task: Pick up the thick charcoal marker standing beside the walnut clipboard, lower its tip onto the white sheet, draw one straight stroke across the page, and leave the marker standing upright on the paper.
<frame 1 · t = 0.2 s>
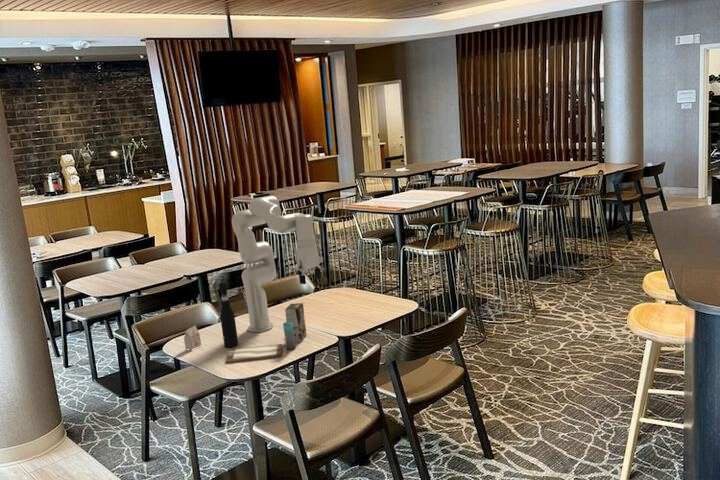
hand: (310, 280, 293), 30 cm above the table, tool pointing down, fingers open, 9 cm apart
tea bag: (193, 348, 312), on the table
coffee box: (298, 339, 311), on the table
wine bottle: (231, 346, 310), on the table
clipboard: (254, 354, 296), on the table
marker: (290, 348, 299), on the table
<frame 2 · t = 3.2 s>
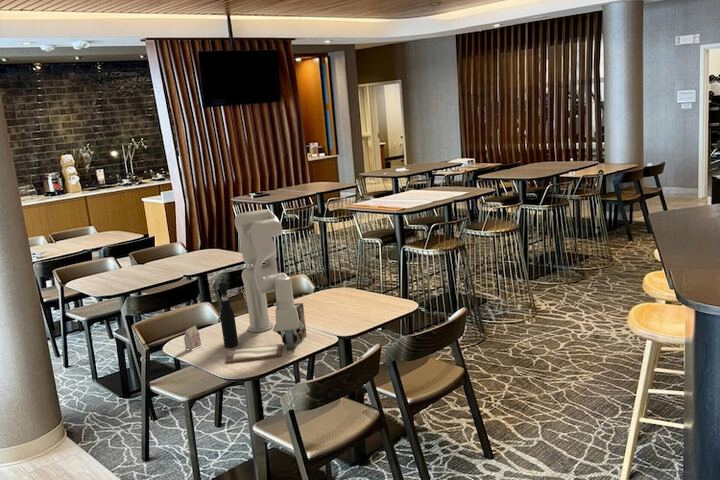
hand: (290, 343, 298), 3 cm above the table, tool pointing down, fingers closed on marker, 4 cm apart
marker: (290, 348, 299), on the table, touching gripper
everything else where it was.
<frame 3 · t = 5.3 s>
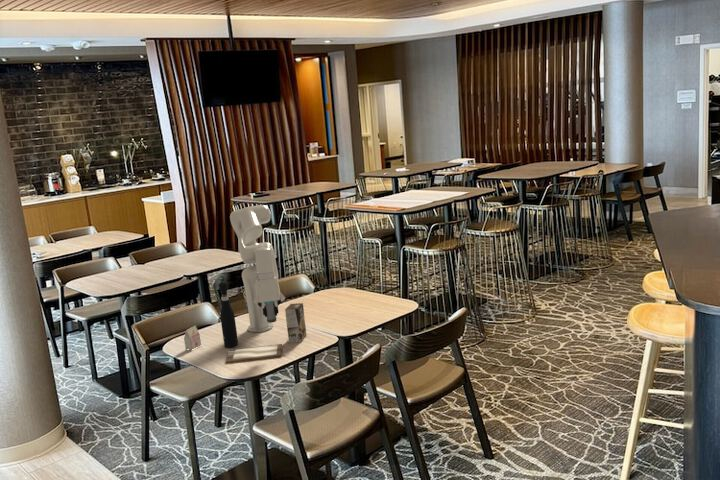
hand: (271, 315, 293), 17 cm above the table, tool pointing down, fingers closed on marker, 4 cm apart
marker: (271, 321, 294), point 14 cm above the table, touching gripper
everything else where it was.
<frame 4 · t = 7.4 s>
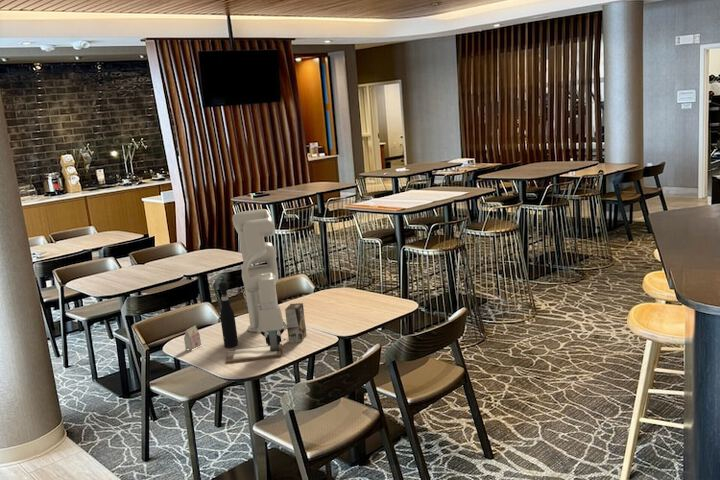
hand: (274, 343, 296), 4 cm above the table, tool pointing down, fingers closed on marker, 4 cm apart
marker: (274, 349, 296), point 1 cm above the table, touching gripper
everything else where it was.
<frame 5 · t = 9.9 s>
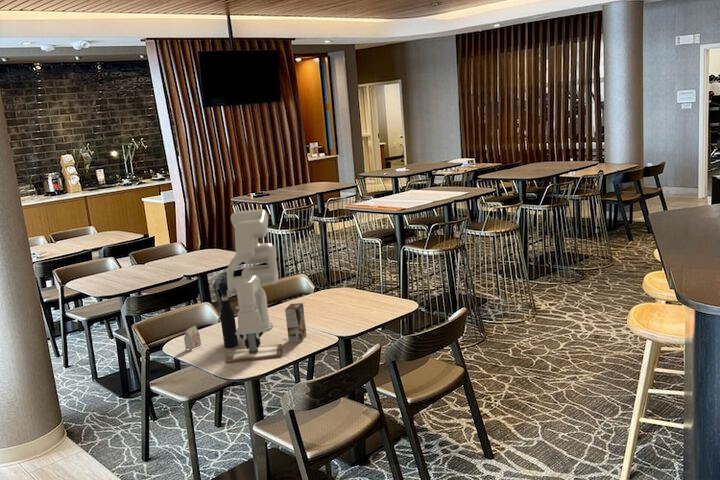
hand: (252, 346, 295), 4 cm above the table, tool pointing down, fingers closed on marker, 4 cm apart
marker: (253, 352, 296), point 1 cm above the table, touching gripper
everything else where it was.
when the fingers open (4 cm above the table, at t = 11.4 s): marker stays where it is, resting on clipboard.
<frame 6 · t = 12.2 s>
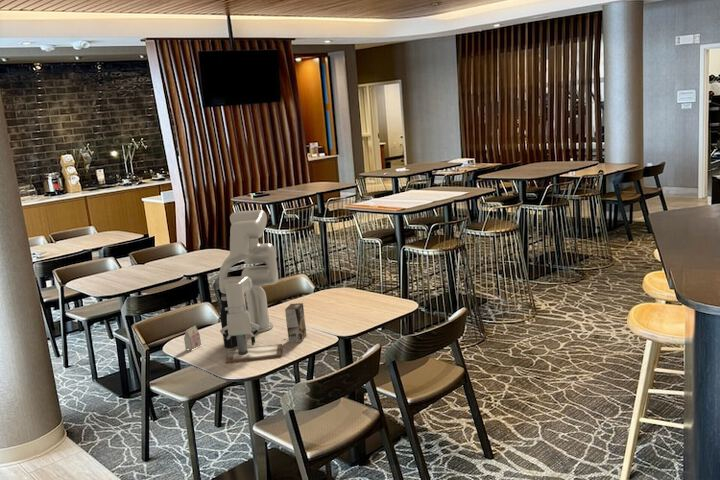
hand: (242, 345, 295), 5 cm above the table, tool pointing down, fingers open, 9 cm apart
marker: (243, 353, 296), point 1 cm above the table, touching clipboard
everything else where it was.
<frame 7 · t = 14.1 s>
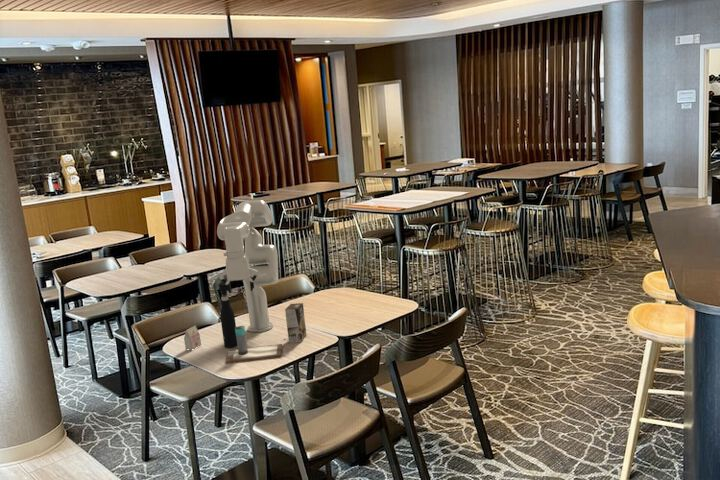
hand: (241, 291, 296), 28 cm above the table, tool pointing down, fingers open, 9 cm apart
nothing on the table moved.
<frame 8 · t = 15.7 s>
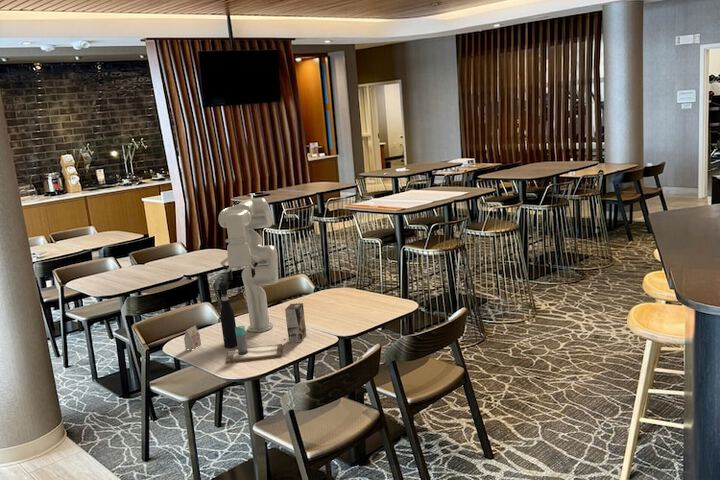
hand: (242, 278, 297), 33 cm above the table, tool pointing down, fingers open, 9 cm apart
nothing on the table moved.
at the end: marker inside the target area on the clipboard (0.5 cm from its centre), point 1.2 cm above the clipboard's base; marker tilted 0°; the gripper is holding nothing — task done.
